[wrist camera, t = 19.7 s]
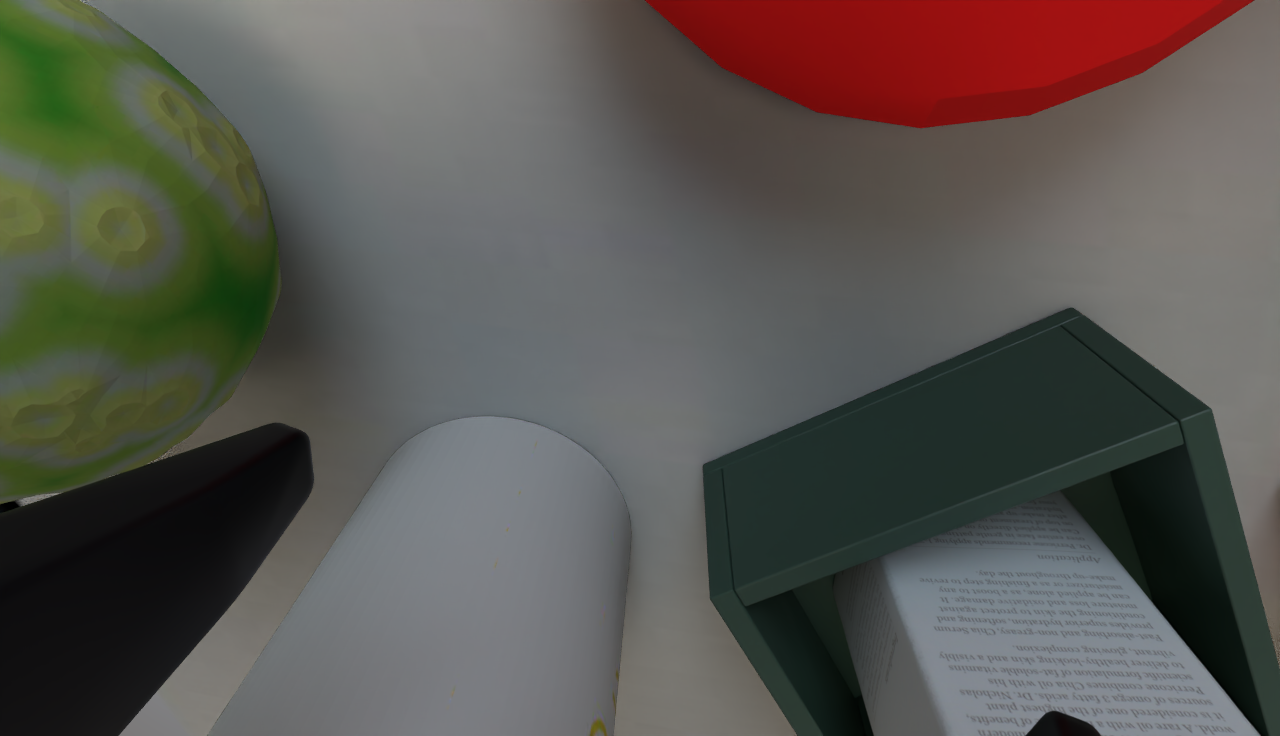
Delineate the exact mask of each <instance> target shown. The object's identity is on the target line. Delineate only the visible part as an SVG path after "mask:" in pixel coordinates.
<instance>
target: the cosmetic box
mask: <svg viewBox="0 0 1280 736" xmlns="http://www.w3.org/2000/svg"><path fill="white" fill-rule="evenodd" d="M833 594H834V598H835V601H836V605H837V608H838V612H839V615H840V618H841V622H842V625H843V629H844V632H845V636H846V640H847V643H848V647H849V651H850V654H851V658H852V661H853V665H854V668H855V672H856V675H857V678H858V682H859V685H860V689H861V692H862V696H863V700H864V703H865V707H866V710H867V713H868V717H869V720H870V724H871V727H872V731H873V734H874V736H1026V734H1027V733H1028V732H1029V731H1030V730H1031V729H1032V728H1033V726H1034V725H1035V724H1036V723H1037V722H1038V721H1039V720H1040V718H1041V717H1042V716H1043V715H1044V714H1045V713H1047V712H1050V711H1059V712H1062V713H1064V714H1067V715H1070V716H1072V717H1075V718H1078V719H1080V720H1083V721H1085V722H1088V723H1089V724H1091V725H1092V726H1093V727H1094V728H1095V729H1096V730H1097V731H1098V732H1099V733H1100V735H1101V736H1260V735H1259V733H1258V732H1257V731H1256V730H1255V729H1254V727H1253V726H1252V725H1251V724H1250V722H1249V721H1248V720H1247V719H1246V718H1245V717H1244V715H1243V714H1242V713H1241V711H1240V710H1239V709H1238V708H1237V706H1236V705H1235V704H1234V703H1233V701H1232V700H1231V699H1230V698H1229V696H1228V695H1227V694H1226V693H1225V691H1224V690H1223V689H1222V688H1221V686H1220V685H1219V684H1218V683H1217V682H1216V680H1215V679H1214V678H1213V677H1212V675H1211V674H1210V673H1209V672H1208V671H1207V669H1206V668H1205V667H1204V666H1203V664H1202V663H1201V662H1200V661H1199V660H1198V658H1197V657H1196V656H1195V655H1194V653H1193V652H1192V651H1191V650H1190V649H1189V647H1188V646H1187V645H1186V644H1185V642H1184V641H1183V640H1182V639H1181V637H1180V636H1179V635H1178V634H1177V633H1176V631H1175V630H1174V629H1173V628H1172V626H1171V625H1170V624H1169V623H1168V621H1167V620H1166V619H1165V618H1164V616H1163V615H1162V614H1161V613H1160V612H1159V610H1158V609H1157V608H1156V607H1155V605H1154V604H1153V603H1152V602H1151V600H1150V599H1149V598H1148V597H1147V596H1146V594H1145V593H1144V592H1143V591H1142V589H1141V588H1140V587H1139V586H1138V584H1137V583H1136V582H1135V581H1134V579H1133V578H1132V577H1131V576H1130V574H1129V573H1128V572H1127V571H1126V570H1125V568H1124V567H1123V566H1122V565H1121V564H1120V562H1119V561H1118V560H1117V559H1116V557H1115V556H1114V555H1113V553H1112V552H1111V551H1110V550H1109V549H1108V547H1107V546H1106V545H1105V544H1104V543H1103V541H1102V540H1101V539H1100V538H1099V536H1098V535H1097V534H1096V533H1095V532H1094V530H1093V529H1092V528H1091V527H1090V526H1089V524H1088V523H1087V522H1086V520H1085V519H1084V518H1083V517H1082V515H1081V514H1080V513H1079V512H1078V511H1077V509H1076V508H1075V507H1074V506H1073V505H1072V503H1071V502H1070V501H1069V500H1068V499H1067V497H1066V496H1065V495H1064V494H1063V492H1061V491H1060V490H1059V491H1056V492H1054V493H1051V494H1048V495H1045V496H1043V497H1040V498H1037V499H1035V500H1032V501H1029V502H1027V503H1024V504H1021V505H1018V506H1016V507H1013V508H1010V509H1008V510H1005V511H1002V512H1000V513H997V514H994V515H991V516H989V517H986V518H983V519H981V520H978V521H975V522H973V523H970V524H967V525H965V526H962V527H959V528H956V529H954V530H951V531H948V532H946V533H943V534H940V535H938V536H935V537H932V538H929V539H927V540H924V541H921V542H919V543H916V544H913V545H911V546H908V547H905V548H902V549H900V550H897V551H894V552H892V553H889V554H886V555H884V556H881V557H878V558H876V559H873V560H870V561H867V562H865V563H862V564H859V565H857V566H854V567H851V568H849V569H846V570H843V571H840V572H838V573H836V575H835V580H834V585H833Z"/></svg>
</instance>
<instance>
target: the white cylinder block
mask: <svg viewBox="0 0 1280 736" xmlns="http://www.w3.org/2000/svg"><path fill="white" fill-rule="evenodd" d="M630 548H631V523H630V517H629V513H628V509H627V506H626V503H625V500H624V498H623V496H622V494H621V492H620V490H619V488H618V486H617V485H616V483H615V481H614V480H613V478H612V477H611V476H610V474H609V473H608V472H607V471H606V469H605V468H604V467H603V466H602V465H601V464H600V463H599V462H598V461H597V460H596V459H595V458H594V457H593V456H592V455H591V454H590V453H589V452H587V451H586V450H585V449H583V448H582V447H581V446H579V445H578V444H576V443H575V442H573V441H572V440H570V439H568V438H567V437H565V436H563V435H561V434H559V433H557V432H555V431H553V430H551V429H548V428H546V427H543V426H540V425H537V424H534V423H531V422H527V421H523V420H518V419H513V418H505V417H493V416H480V417H467V418H461V419H456V420H452V421H448V422H444V423H441V424H438V425H435V426H433V427H431V428H428V429H426V430H424V431H422V432H420V433H419V434H417V435H415V436H414V437H412V438H411V439H409V440H408V441H407V442H406V443H404V444H403V445H402V446H401V447H400V448H399V449H398V450H397V451H396V452H395V453H394V454H393V455H392V456H391V457H390V459H389V460H388V461H387V463H386V464H385V466H384V467H383V469H382V470H381V472H380V473H379V475H378V476H377V478H376V479H375V481H374V482H373V484H372V486H371V487H370V489H369V490H368V492H367V493H366V495H365V496H364V498H363V499H362V501H361V502H360V504H359V505H358V507H357V508H356V510H355V511H354V513H353V514H352V516H351V518H350V519H349V521H348V522H347V524H346V525H345V527H344V528H343V530H342V531H341V533H340V534H339V536H338V537H337V539H336V540H335V542H334V543H333V545H332V546H331V548H330V550H329V551H328V553H327V554H326V556H325V557H324V559H323V560H322V562H321V563H320V565H319V566H318V568H317V569H316V571H315V572H314V574H313V575H312V577H311V578H310V580H309V582H308V583H307V585H306V586H305V588H304V589H303V591H302V592H301V594H300V595H299V597H298V598H297V600H296V601H295V603H294V604H293V606H292V607H291V609H290V610H289V612H288V613H287V615H286V617H285V618H284V620H283V621H282V623H281V624H280V626H279V627H278V629H277V630H276V632H275V633H274V635H273V636H272V638H271V639H270V641H269V642H268V644H267V645H266V647H265V649H264V650H263V652H262V653H261V655H260V656H259V658H258V659H257V661H256V662H255V664H254V665H253V667H252V668H251V670H250V671H249V673H248V674H247V676H246V677H245V679H244V681H243V682H242V684H241V685H240V687H239V688H238V690H237V691H236V693H235V694H234V696H233V697H232V699H231V700H230V702H229V703H228V705H227V706H226V708H225V709H224V711H223V712H222V714H221V716H220V717H219V719H218V720H217V722H216V723H215V725H214V726H213V728H212V729H211V731H210V732H209V734H208V735H207V736H614V725H615V714H616V703H617V692H618V681H619V670H620V659H621V648H622V637H623V626H624V615H625V604H626V593H627V581H628V570H629V559H630Z"/></svg>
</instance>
